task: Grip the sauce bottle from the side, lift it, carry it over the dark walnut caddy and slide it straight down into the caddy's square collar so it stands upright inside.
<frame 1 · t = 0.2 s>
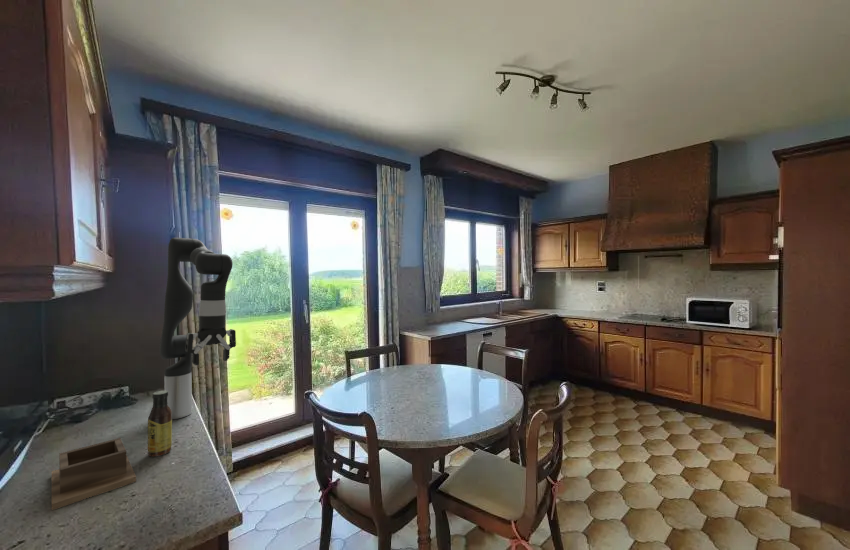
hand: (211, 362, 115), 29 cm above the worktop, tool pointing down, fingers open, 8 cm apart
sauce bottle: (160, 453, 113), on the worktop
walnut caddy: (93, 479, 98), on the worktop
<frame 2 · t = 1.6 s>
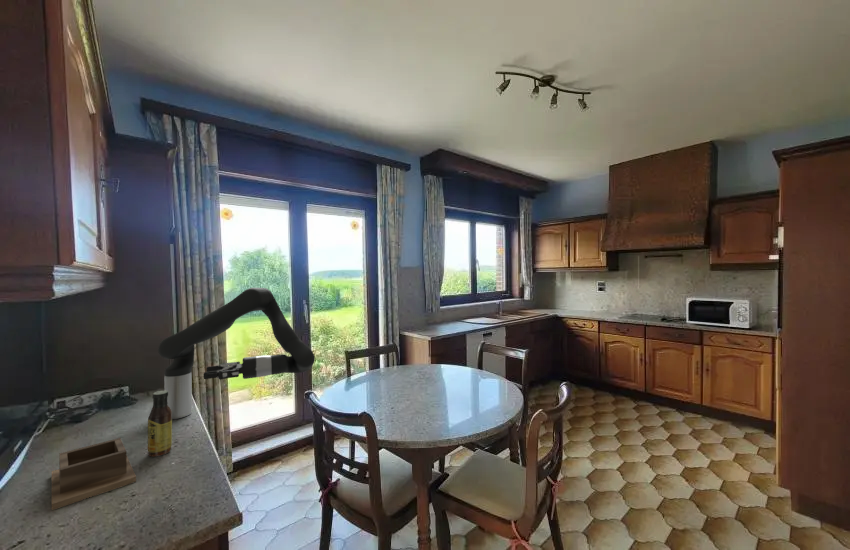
hand: (205, 372, 120), 24 cm above the worktop, tool horizontal, fingers open, 8 cm apart
nothing on the worktop moved.
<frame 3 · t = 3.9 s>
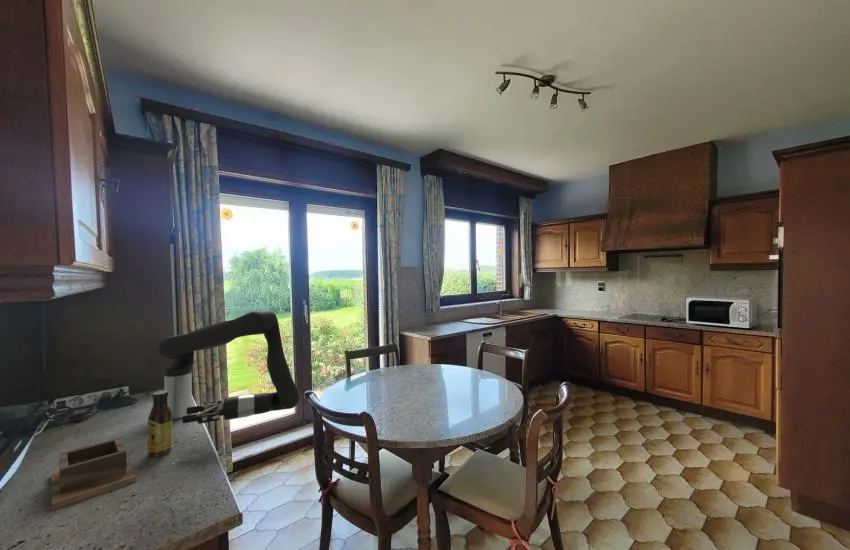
hand: (184, 415, 116), 11 cm above the worktop, tool horizontal, fingers open, 8 cm apart
nothing on the worktop moved.
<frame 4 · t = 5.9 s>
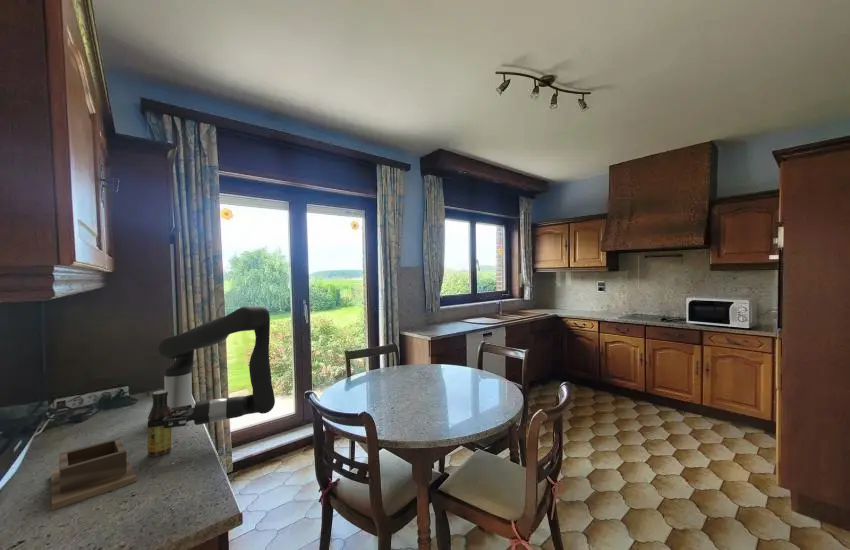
hand: (150, 420, 112), 11 cm above the worktop, tool horizontal, fingers closed on sauce bottle, 6 cm apart
sauce bottle: (160, 453, 113), on the worktop, touching gripper
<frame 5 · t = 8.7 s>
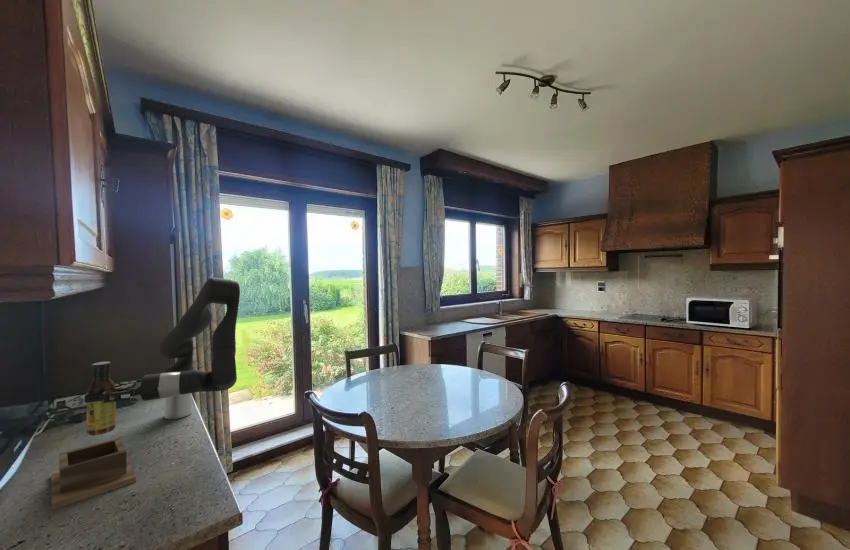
hand: (89, 395, 99), 24 cm above the worktop, tool horizontal, fingers closed on sauce bottle, 6 cm apart
sauce bottle: (101, 432, 100), point 13 cm above the worktop, touching gripper
when the fingers open (14 cm above the worktop, at t = 11.7 s): sauce bottle drops 2 cm, resting on walnut caddy.
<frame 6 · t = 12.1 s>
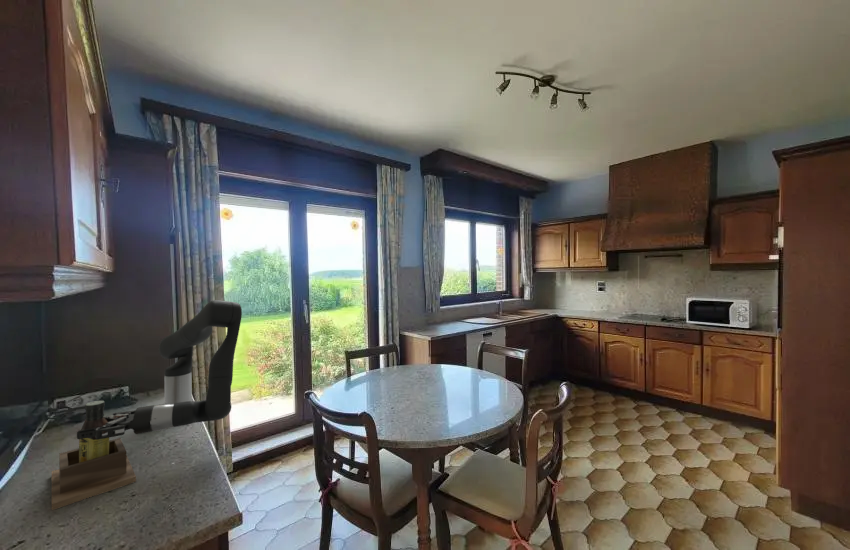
hand: (84, 429, 98), 15 cm above the worktop, tool horizontal, fingers open, 8 cm apart
sauce bottle: (94, 473, 98), point 1 cm above the worktop, touching walnut caddy
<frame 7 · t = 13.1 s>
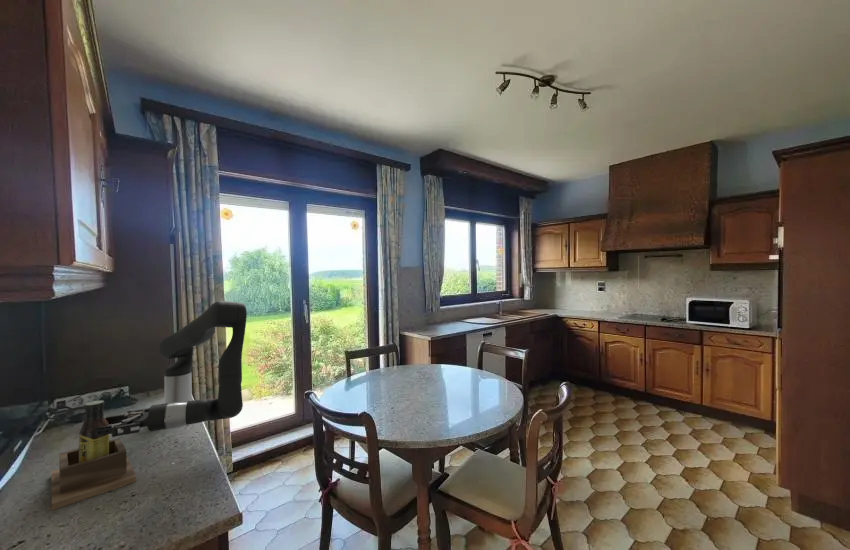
hand: (99, 426, 99), 15 cm above the worktop, tool horizontal, fingers open, 8 cm apart
nothing on the worktop moved.
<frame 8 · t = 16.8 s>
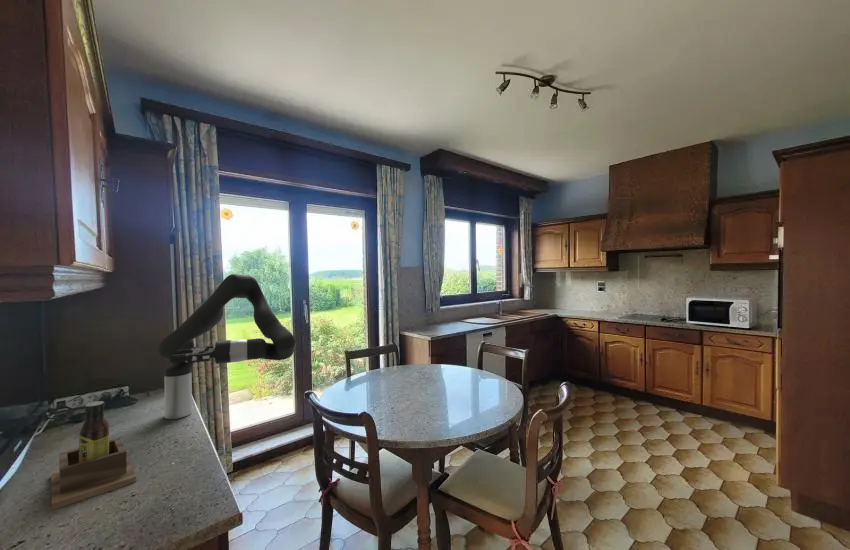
hand: (173, 356, 110), 32 cm above the worktop, tool horizontal, fingers open, 8 cm apart
nothing on the worktop moved.
at the end: sauce bottle 0.3 cm off-centre on the walnut caddy, point 1.3 cm above the walnut caddy's base; sauce bottle tilted 0° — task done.
